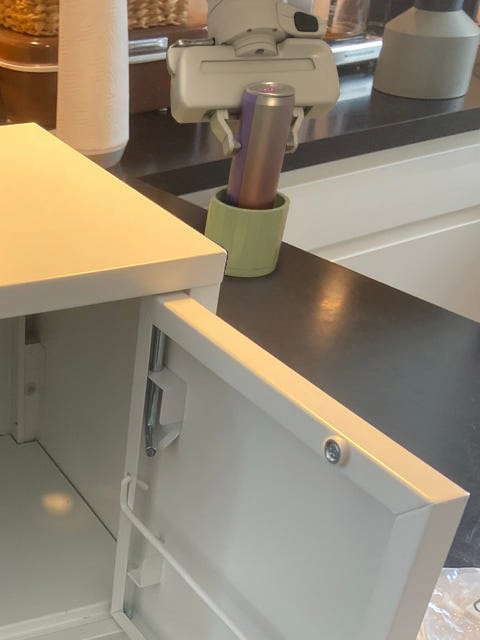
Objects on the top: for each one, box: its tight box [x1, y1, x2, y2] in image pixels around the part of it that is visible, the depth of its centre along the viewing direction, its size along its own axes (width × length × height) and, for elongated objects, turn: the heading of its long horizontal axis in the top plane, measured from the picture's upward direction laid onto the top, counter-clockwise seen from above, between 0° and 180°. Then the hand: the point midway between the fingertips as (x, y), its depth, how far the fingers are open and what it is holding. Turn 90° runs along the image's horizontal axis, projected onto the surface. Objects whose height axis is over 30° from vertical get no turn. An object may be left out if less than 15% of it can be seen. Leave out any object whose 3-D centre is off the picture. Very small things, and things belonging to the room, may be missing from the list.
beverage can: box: [225, 82, 296, 210], centre depth 114 cm, size 6×6×15 cm
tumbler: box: [203, 185, 291, 278], centre depth 120 cm, size 10×10×8 cm
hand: (261, 151), depth 113 cm, fingers closed on beverage can, 6 cm apart
